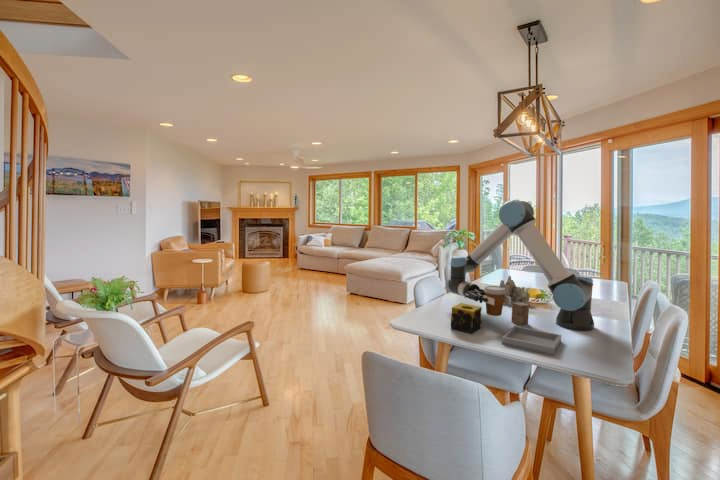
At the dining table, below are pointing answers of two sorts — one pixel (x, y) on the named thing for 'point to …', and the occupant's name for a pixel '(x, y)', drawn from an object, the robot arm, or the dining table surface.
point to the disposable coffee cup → (498, 295)
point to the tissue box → (466, 318)
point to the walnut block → (520, 313)
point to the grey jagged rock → (514, 292)
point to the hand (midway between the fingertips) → (502, 301)
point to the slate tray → (532, 340)
